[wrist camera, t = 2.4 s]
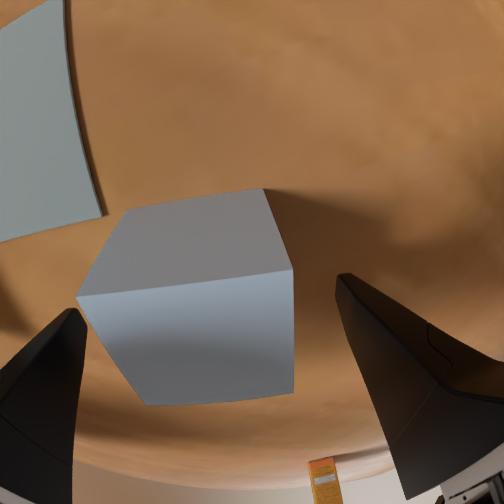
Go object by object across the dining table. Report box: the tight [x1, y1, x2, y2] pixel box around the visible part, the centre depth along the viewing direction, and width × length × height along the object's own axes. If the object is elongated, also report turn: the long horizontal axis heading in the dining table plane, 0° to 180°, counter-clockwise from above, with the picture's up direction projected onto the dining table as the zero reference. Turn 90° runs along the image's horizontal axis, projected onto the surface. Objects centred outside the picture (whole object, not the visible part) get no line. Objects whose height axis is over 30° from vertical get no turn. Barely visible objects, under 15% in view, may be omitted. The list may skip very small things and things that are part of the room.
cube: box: [76, 188, 294, 406], centre depth 9 cm, size 5×5×5 cm
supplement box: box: [308, 457, 343, 504], centre depth 25 cm, size 3×3×10 cm
